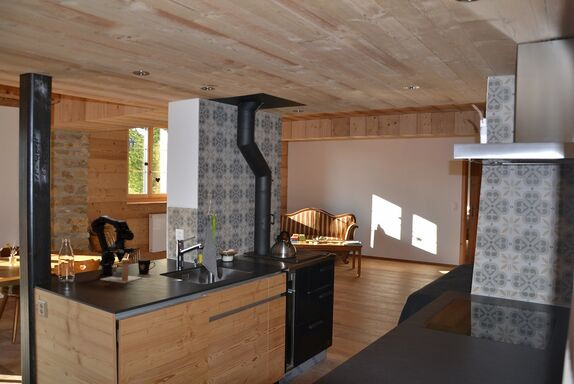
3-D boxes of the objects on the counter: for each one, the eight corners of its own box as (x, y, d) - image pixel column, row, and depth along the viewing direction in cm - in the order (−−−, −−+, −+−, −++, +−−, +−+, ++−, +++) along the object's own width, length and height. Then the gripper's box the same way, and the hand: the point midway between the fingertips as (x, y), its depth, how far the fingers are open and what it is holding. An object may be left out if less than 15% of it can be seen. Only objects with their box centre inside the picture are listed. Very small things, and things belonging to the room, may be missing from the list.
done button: (114, 274, 315) (115, 268, 315) (119, 272, 319) (119, 267, 319) (120, 274, 314) (120, 268, 314) (124, 273, 318) (124, 267, 318)
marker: (120, 280, 302) (121, 260, 302) (123, 279, 306) (124, 259, 306) (126, 280, 301) (126, 260, 301) (129, 279, 305) (129, 259, 305)
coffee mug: (134, 274, 328) (135, 259, 327) (143, 272, 335) (144, 258, 335) (147, 275, 322) (147, 261, 322) (156, 273, 330) (156, 259, 330)
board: (100, 279, 306) (100, 275, 306) (118, 275, 321) (118, 271, 321) (124, 283, 298) (124, 278, 298) (142, 278, 314) (142, 273, 314)
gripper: (100, 239, 312) (100, 262, 313) (122, 241, 305) (122, 265, 305) (113, 237, 322) (112, 260, 323) (134, 239, 315) (134, 262, 316)
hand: (120, 262), depth 316 cm, fingers closed
